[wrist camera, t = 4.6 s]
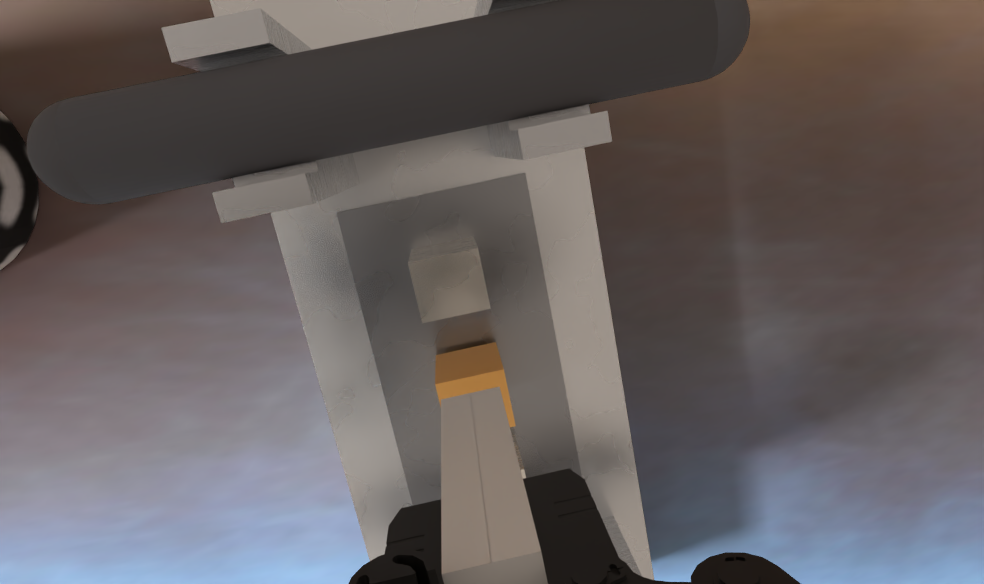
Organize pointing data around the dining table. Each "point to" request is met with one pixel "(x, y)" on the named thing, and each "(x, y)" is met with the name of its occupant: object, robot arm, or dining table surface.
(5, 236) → the spotted tube
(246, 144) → the dark grey rod
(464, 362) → the breaker paddle
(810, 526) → the dining table surface
